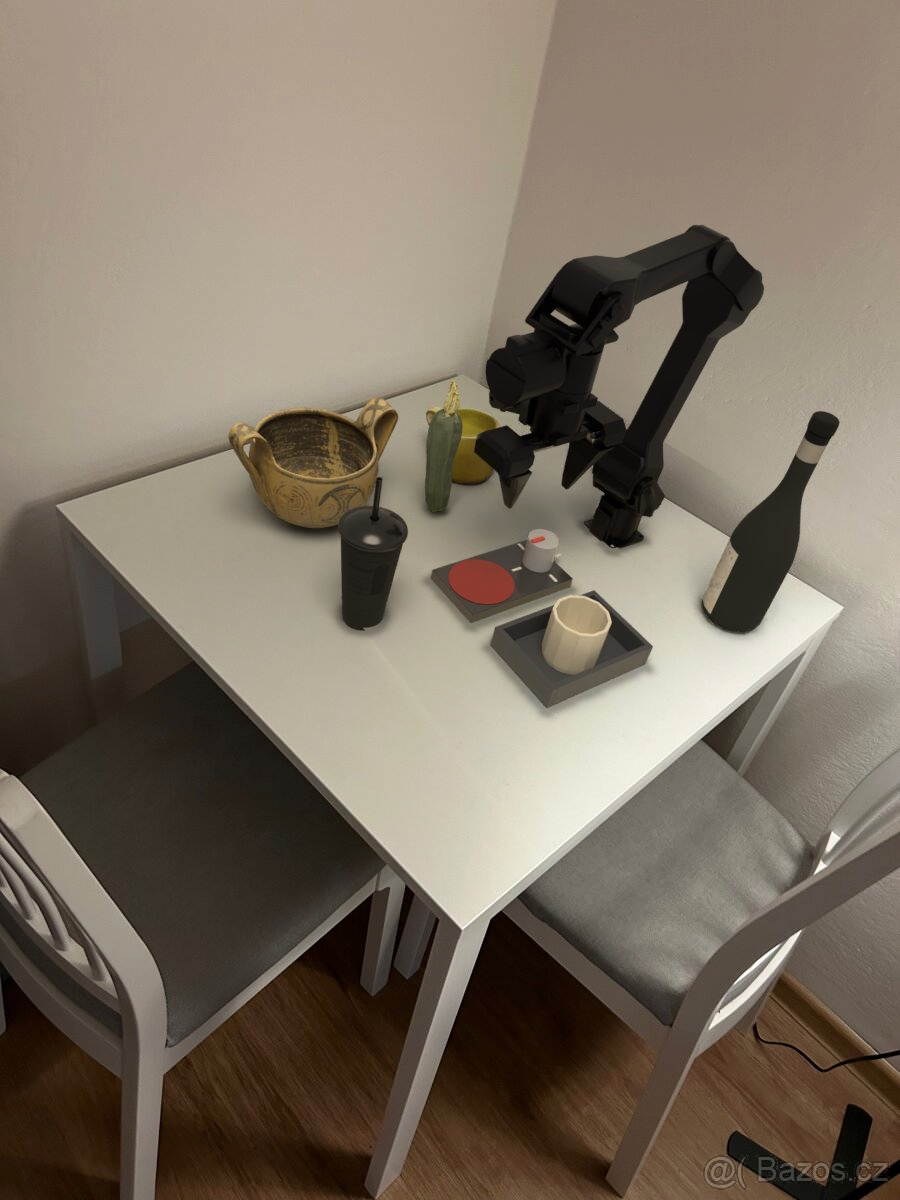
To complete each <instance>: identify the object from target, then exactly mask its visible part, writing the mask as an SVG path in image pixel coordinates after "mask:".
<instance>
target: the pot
mask: <svg viewBox="0 0 900 1200" xmlns="http://www.w3.org/2000/svg"><path fill="white" fill-rule="evenodd" d="M553 605H554V607H553V609H552V612H551V615H550V619H549V622H548V625H547V628H546V631H545V635H544V638H543V641H542V644H541V645H542V654H543V657H544V659H545V660H546V662H547V663H548V664H549V665H550V666H552V667H553V668H554V669H556V670H558V671H560V672H563V673H566V674H572V675H576V674H578V673H580V672H583V671H585V670H587V669H590V668H592V667H594V666H595V664H596V662H597V660H598V658H599V655H600V652H601V650H602V647H603V645H604V642H605V639H606V637H607V634H608V631H609V629H610V626H611V623H612V621H611V618H610V614H609V612H608V610H606V609H605V608H604V607H603V606H602V605H601V604H600V603H599V602H597V601H595V600H593V599H590V598H588V597H586V596H580V595H576V594H568V595H566V596H563V597H561V598H558V599H557V601H556V602H555V604H553Z"/></svg>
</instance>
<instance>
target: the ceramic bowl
mask: <svg viewBox="0 0 900 1200" xmlns="http://www.w3.org/2000/svg"><path fill="white" fill-rule="evenodd" d="M358 414H359V415H358V416H357V418H356V420H354V419H353V418H350V417H348V416H346V415H343V414H341V413H339V412H335V411H330V410H327V409H324V408H316V407H291V408H284V409H280V410H278V411H274V412H272V413H269V414H267V415H266V416H265V417H263V418H262V419H260V421H258V422H257V424H256V425H255V427H254V426H252V425H251V424H249V423H246V422H238V423H235V424H233V425H232V427H231V428H230V429H229V432H228V437H227V439H228V442H229V444H230V447H231V448H232V450H233V452H234V453H235V455H236V456H237V458H238V460H239V462H240V463H241V464H242V466H243V468H244V470H245V471H246V472H247V473H248V475H249V479H250V481H251V483H252V485H253V488H254V490H255V492H256V494H257V496H258V497H259V499H260V500H261V502H262V503H263V504H264V505H265V506H266V507H267V508H268V510H270V511H271V513H273V514H274V515H275V516H277V517H278V518H279V519H281V520H283V521H285V522H286V523H289V524H291V525H295V526H298V527H302V528H308V529H324V528H330V527H333V526H338V524H339V520H340V518H341V516H342V515H343V514H344V513H345V512H347V511H349V510H351V509H353V508H356V507H361V506H366V504H367V503H368V501H369V500H370V498H371V496H372V495H373V493H374V491H375V485H376V478H377V477H378V475H379V469H380V468H379V462H380V459H381V457H382V456H383V453H384V451H385V449H386V447H387V444H388V442H389V441H390V438H391V436H392V434H393V432H394V430H395V428H396V426H397V423H398V421H399V413H398V412H397V410H396V409H395V408H394V407H393V406H392V405H391V404H390V403H389V402H388V401H387V400H386V399H385V398H383V397H381V396H375V397H373V398H371V399H370V400H368V402H367V403H366V404H365V405H364V407H363V408H362V410H361V411H360V413H358ZM249 440H250V444H249V450H248V455H247V453H246V451H245V449H244V448H245V447H244V446H245V445H246V443H247V442H249Z"/></svg>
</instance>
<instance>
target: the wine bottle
mask: <svg viewBox="0 0 900 1200" xmlns="http://www.w3.org/2000/svg"><path fill="white" fill-rule="evenodd" d="M839 419H840V418H838V417H837V416H836V415H834V413H830V412H828V411H824V410H823V411H822V410H818V411H815V412H813V413H812V415H811V417H810V418H809V421H808V423H807V428H806V430H805V433H804V435H803V437H802V439H801V441H800V443H799V445H798V447H797V450H796V451H795V453H794V457H793V458H792V460H791V462H790V464H789V466H788V468H787V470H786V472H785V474H784V476H783V478H782V479H781V481H780V482H779V484H777V486H776V487H775V488H774V490H772V491H771V493H770V494H769V495H767V496H766V498H765V499H764V500H762V501H761V502H760V503H758V504H757V505H756V506H754V508H753V509H751V510H750V511H749V512H748V513H747V514H746V515H745V516H744V517H743V518H742V519H741V520H740V522H739V523H738V524H737V525H736V527H735V528H734V530H733V531H732V533H731V535H730V537H729V539H728V541H727V543H726V546H725V548H724V549H723V552H722V554H721V556H720V558H719V561H718V563H717V565H716V567H715V569H714V572H713V573H712V576H711V577H710V580H709V583H708V584H707V587H706V589H705V591H704V594H703V596H702V598H701V608H702V611H703V613H704V615H705V616H706V618H707V619H708V620H709V621H710V622H711V623H713V624H714V625H715V626H717V627H718V628H720V629H722V630H724V631H728V632H732V633H739V634H740V633H743V634H745V633H749V632H752V631H754V630H755V629H757V627H759V626H760V625H761V623H762V622H763V620H764V618H765V616H766V615H767V614H768V611H769V609H770V607H771V605H772V603H773V601H774V599H775V598H776V595H778V592H779V590H780V588H781V587H782V584H783V582H784V581H785V579H786V577H787V575H788V573H789V571H790V570H791V567H792V566H793V564H794V561H795V558H796V555H797V552H798V547H799V543H800V538H801V520H802V519H801V517H802V503H803V497H804V494H805V491H806V489H807V485H808V484H809V482H810V479H811V478H812V475H813V473H814V472H815V469H816V468H817V466H818V465H819V464H818V463H819V462H820V460H821V458H822V456H823V454H824V452H825V450H826V449H827V446H828V445H829V443H830V441H831V439H832V438H833V437H834V436H835V434H836V433H837V431H838V428H839V426H840V423H841V422H840V420H839Z"/></svg>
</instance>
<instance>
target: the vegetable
mask: <svg viewBox="0 0 900 1200" xmlns="http://www.w3.org/2000/svg"><path fill="white" fill-rule="evenodd" d="M450 382H451V383H450V385H449V386H450V387H449V388H448V389H449V390H448V391H447V394H446V397H445V399H444V401H443V409H441V410H439V411H438V412H437V413H436V414H435V415H434V416H433V418H432V420H431V422H430V425H428V429H427V436H426V445H425V455H426V465H425V479H424V496H425V503H426V505H427V506H428V508H429V509H430V510H431V511H432V512H433V513H436V512H442V511H443V510H444V509H445V508H447V507H448V505H449V501H450V495H451V490H452V482H453V481H452V468H453V462H454V458H455V456H456V452H457V449H458V446H459V443H460V440H461V436H462V428H463V425H462V420H461V418H460V416H459V415H458V413H456V412H457V411H458V410H459V408H461V398H460V393H459V390H458V388H459V387H458V384H457V382H456V381H455V380H453V379H451V380H450Z"/></svg>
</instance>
